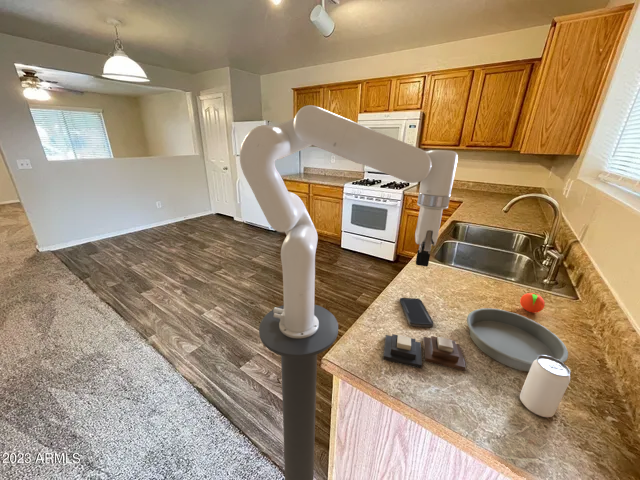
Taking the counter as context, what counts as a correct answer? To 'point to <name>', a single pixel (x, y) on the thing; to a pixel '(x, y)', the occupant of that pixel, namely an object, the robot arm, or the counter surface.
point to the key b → (444, 344)
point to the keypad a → (402, 352)
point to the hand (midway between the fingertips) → (421, 264)
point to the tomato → (532, 302)
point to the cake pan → (513, 338)
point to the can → (545, 386)
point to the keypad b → (443, 354)
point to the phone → (416, 312)
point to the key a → (404, 342)
